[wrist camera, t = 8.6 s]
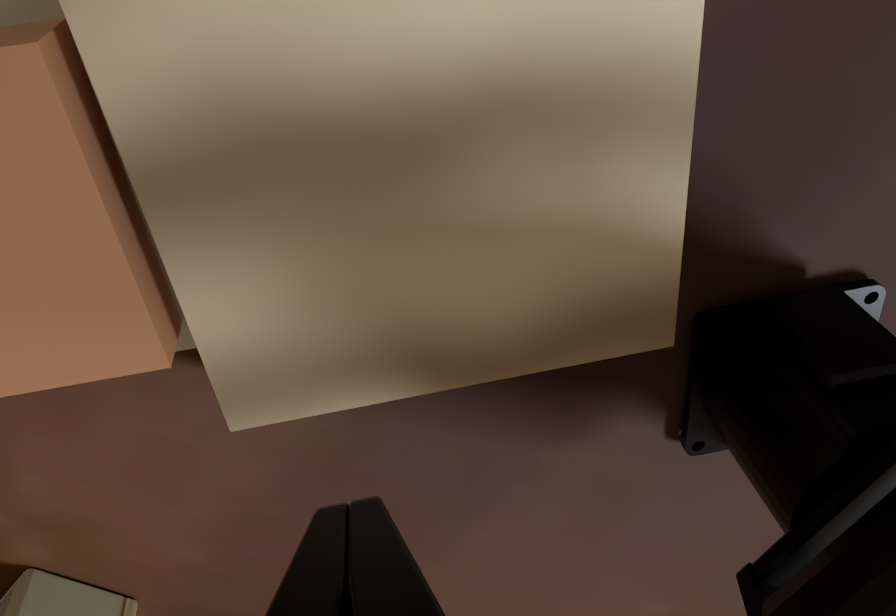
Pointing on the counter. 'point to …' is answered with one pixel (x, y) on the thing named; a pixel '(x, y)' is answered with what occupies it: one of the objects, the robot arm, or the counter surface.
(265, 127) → the board
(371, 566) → the robot arm
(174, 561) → the counter surface
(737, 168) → the counter surface
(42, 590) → the skincare box
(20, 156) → the tile
